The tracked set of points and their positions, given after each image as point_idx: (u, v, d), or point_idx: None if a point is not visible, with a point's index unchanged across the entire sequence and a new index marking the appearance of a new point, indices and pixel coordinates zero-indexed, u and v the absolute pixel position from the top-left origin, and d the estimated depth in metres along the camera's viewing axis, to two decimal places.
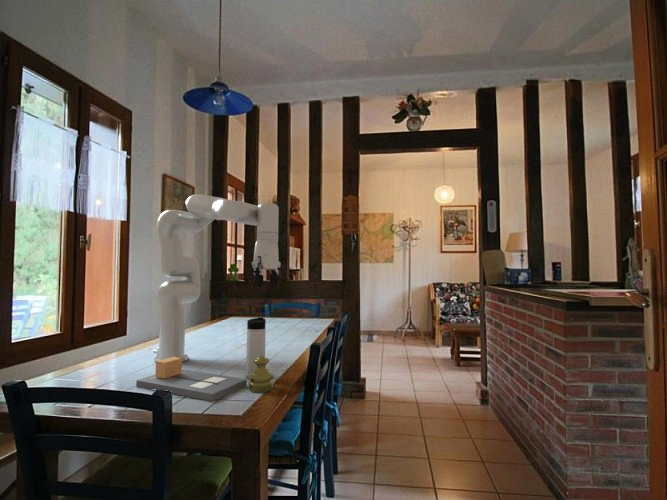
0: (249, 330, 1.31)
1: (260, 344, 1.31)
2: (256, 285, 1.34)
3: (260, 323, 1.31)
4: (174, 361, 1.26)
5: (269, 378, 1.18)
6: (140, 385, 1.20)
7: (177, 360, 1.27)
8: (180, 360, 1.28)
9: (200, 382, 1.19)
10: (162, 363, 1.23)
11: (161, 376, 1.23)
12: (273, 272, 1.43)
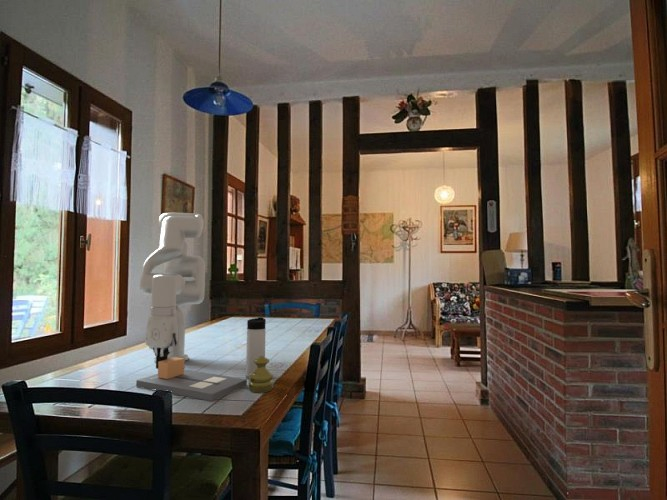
0: (249, 330, 1.31)
1: (260, 344, 1.31)
2: None
3: (260, 323, 1.31)
4: (176, 361, 1.25)
5: (269, 378, 1.18)
6: (140, 385, 1.20)
7: (179, 360, 1.27)
8: (182, 360, 1.28)
9: (200, 382, 1.19)
10: (165, 364, 1.22)
11: (163, 376, 1.22)
12: (159, 351, 1.28)
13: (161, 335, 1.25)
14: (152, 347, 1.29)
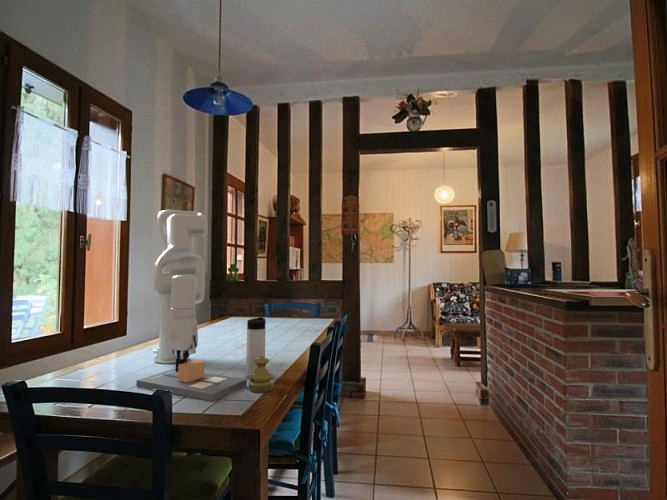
0: (249, 330, 1.31)
1: (260, 344, 1.31)
2: None
3: (260, 323, 1.31)
4: (197, 364, 1.22)
5: (269, 378, 1.18)
6: (140, 385, 1.20)
7: (200, 363, 1.23)
8: (203, 363, 1.24)
9: (200, 382, 1.19)
10: (185, 367, 1.19)
11: (184, 380, 1.19)
12: (179, 354, 1.25)
13: (181, 337, 1.21)
14: (171, 349, 1.25)
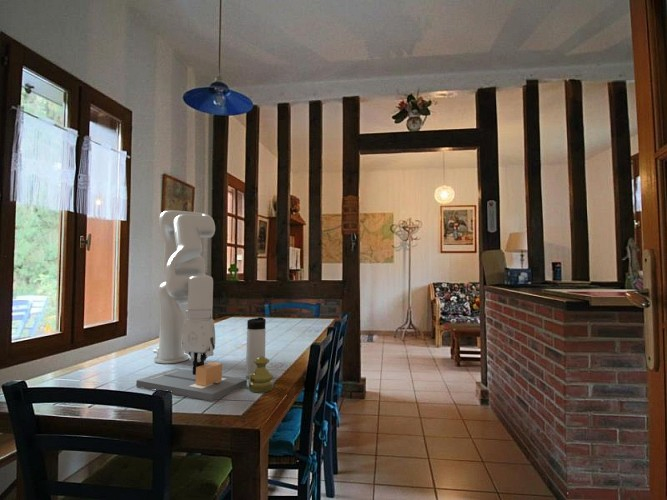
0: (249, 330, 1.31)
1: (260, 344, 1.31)
2: None
3: (260, 323, 1.31)
4: (215, 367, 1.19)
5: (269, 378, 1.18)
6: (140, 385, 1.20)
7: (217, 366, 1.20)
8: (220, 366, 1.21)
9: None
10: (203, 370, 1.16)
11: (202, 383, 1.16)
12: (195, 356, 1.22)
13: (199, 339, 1.18)
14: (188, 352, 1.23)
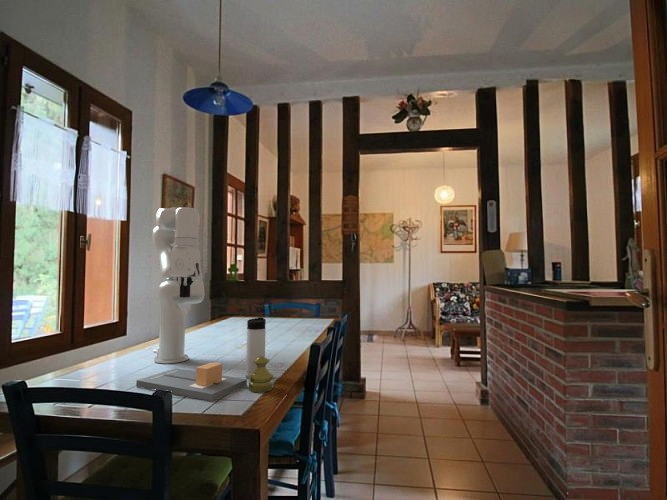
0: (249, 330, 1.31)
1: (260, 344, 1.31)
2: (184, 296, 1.32)
3: (260, 323, 1.31)
4: (215, 367, 1.19)
5: (269, 378, 1.18)
6: (140, 385, 1.20)
7: (218, 366, 1.20)
8: (220, 366, 1.21)
9: None
10: (203, 370, 1.16)
11: (202, 383, 1.16)
12: (182, 282, 1.33)
13: (185, 264, 1.30)
14: (175, 278, 1.34)
